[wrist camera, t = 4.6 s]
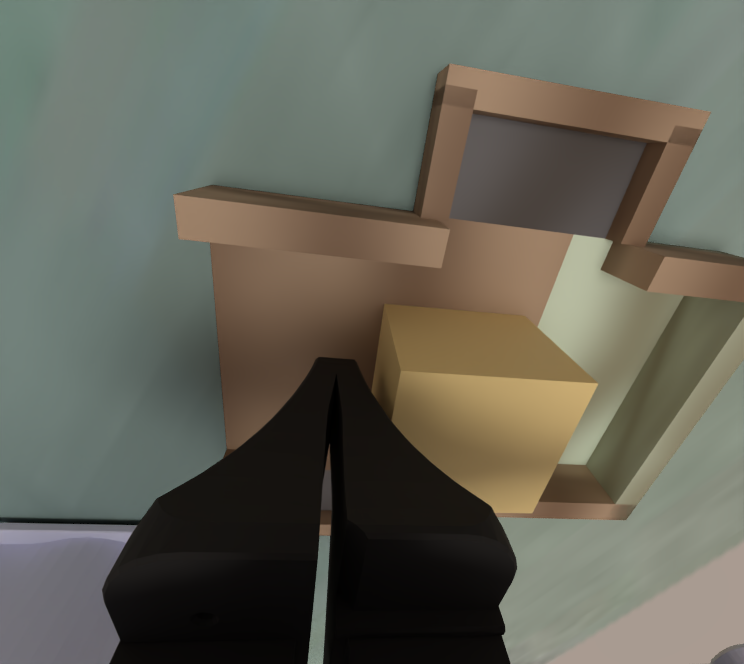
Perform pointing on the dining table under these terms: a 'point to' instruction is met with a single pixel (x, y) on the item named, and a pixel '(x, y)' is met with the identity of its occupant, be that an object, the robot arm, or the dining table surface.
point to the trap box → (495, 272)
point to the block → (480, 398)
